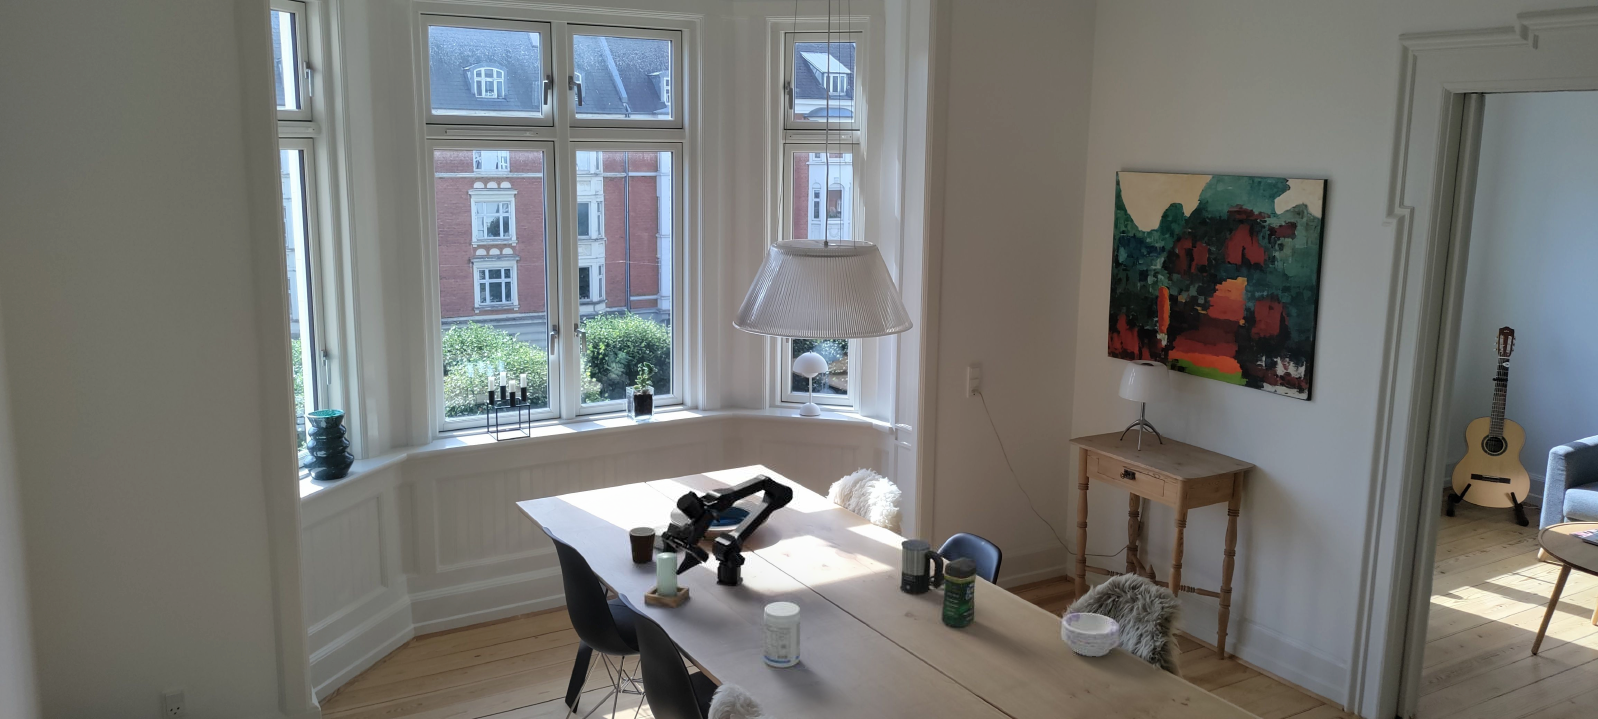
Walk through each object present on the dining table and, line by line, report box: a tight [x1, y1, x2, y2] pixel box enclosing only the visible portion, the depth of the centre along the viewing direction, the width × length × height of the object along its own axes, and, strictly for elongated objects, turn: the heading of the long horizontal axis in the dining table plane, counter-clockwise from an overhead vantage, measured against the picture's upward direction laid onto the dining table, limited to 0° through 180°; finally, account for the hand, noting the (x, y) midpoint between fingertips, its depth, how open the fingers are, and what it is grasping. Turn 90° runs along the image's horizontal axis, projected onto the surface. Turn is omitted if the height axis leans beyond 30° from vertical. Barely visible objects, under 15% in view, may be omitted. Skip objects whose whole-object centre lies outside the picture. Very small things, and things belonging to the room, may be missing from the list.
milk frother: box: [899, 539, 945, 595], centre depth 337 cm, size 14×16×15 cm
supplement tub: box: [763, 601, 801, 668], centre depth 284 cm, size 10×10×15 cm
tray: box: [643, 584, 690, 609], centre depth 324 cm, size 10×10×3 cm
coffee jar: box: [941, 556, 978, 628], centre depth 311 cm, size 10×8×19 cm
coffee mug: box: [628, 526, 656, 565], centre depth 357 cm, size 12×9×10 cm
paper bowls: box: [1060, 612, 1121, 657], centre depth 295 cm, size 15×15×8 cm
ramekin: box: [652, 524, 669, 550], centre depth 371 cm, size 11×11×5 cm
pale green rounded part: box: [656, 552, 678, 598], centre depth 323 cm, size 6×6×12 cm
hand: (668, 569), depth 323 cm, fingers open, 9 cm apart
